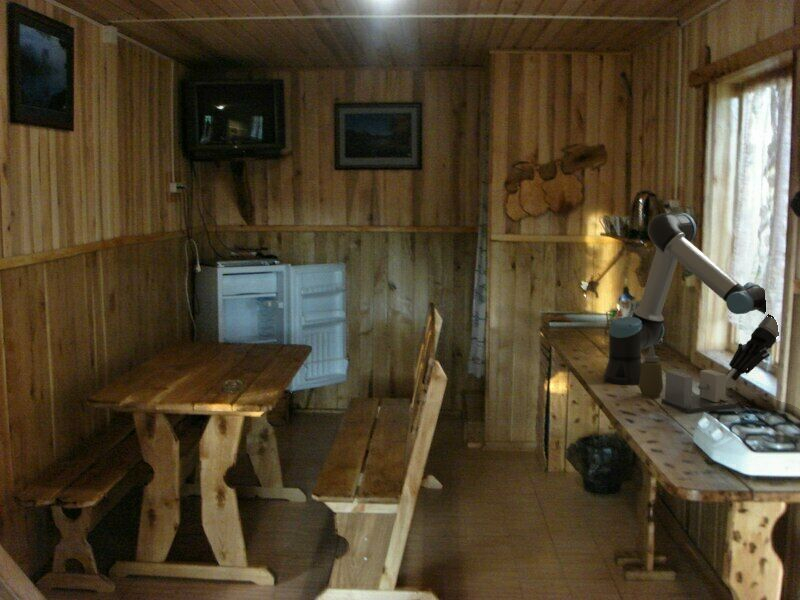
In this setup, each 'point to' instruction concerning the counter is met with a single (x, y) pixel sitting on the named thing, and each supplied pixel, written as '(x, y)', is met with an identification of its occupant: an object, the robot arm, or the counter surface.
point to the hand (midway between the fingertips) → (724, 385)
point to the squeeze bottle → (651, 375)
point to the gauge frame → (688, 395)
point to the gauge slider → (713, 385)
